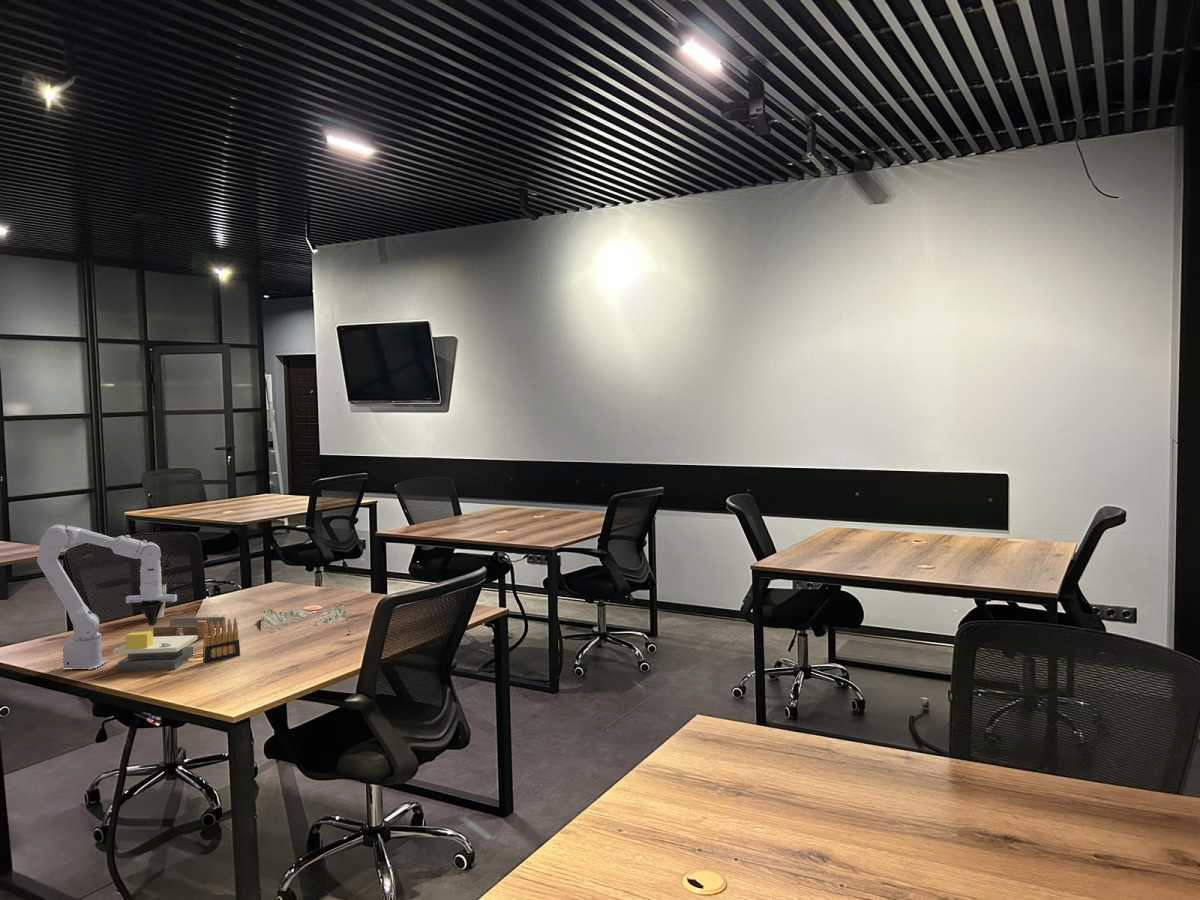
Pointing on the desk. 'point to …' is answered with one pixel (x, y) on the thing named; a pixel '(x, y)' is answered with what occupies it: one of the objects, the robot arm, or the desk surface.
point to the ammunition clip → (221, 642)
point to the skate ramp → (188, 626)
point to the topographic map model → (274, 618)
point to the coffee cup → (164, 583)
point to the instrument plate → (153, 643)
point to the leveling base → (155, 660)
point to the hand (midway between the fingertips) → (152, 624)
